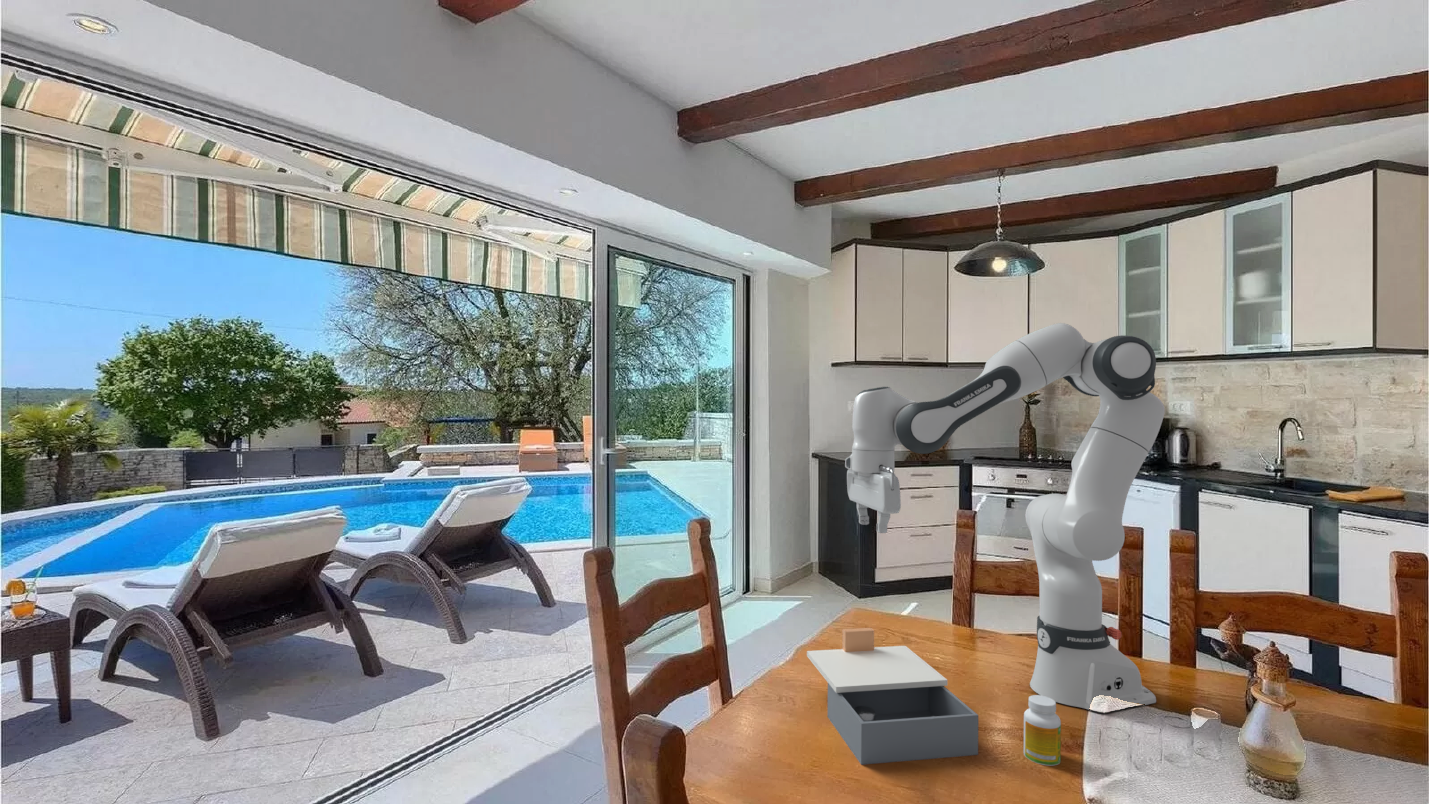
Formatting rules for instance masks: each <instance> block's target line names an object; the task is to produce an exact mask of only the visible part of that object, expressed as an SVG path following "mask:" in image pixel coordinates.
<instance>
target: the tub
mask: <svg viewBox="0 0 1429 804" xmlns="http://www.w3.org/2000/svg"><path fill="white" fill-rule="evenodd" d="M859 706H865V707H869V708H872V709H873V710H874V711H875V721H866V722H863V720H862V719H861V718H860V717H859V715H858V714H857V713H856V712H855V710H854V709H855V708H856V707H859ZM931 716H935V717H931ZM827 718H828V720H829V721H830V723H831V724H832V726H833V727H834V728H835V729H836V731H837V732H838V734H839V735H840V737H841V738H842V740H843V742H845V744H846V745H847V747H848V748H849V749H850V751H851V753H852V754H853V755H854V757H855V758H856V760H857V761H858V763H859V764H860V765H861V766H862V765H863V766H864V765H876V764H885V763H899V762H908V761H912V762H913V761H922V760H932V759H944V758H945V759H946V758H947V759H948V758H957V757H958V758H959V757H969V756H979V714H978V713H977V712H975V711H974V710H973V709H972V708H970V707H969V706H968V705H967V704H966V703H964V702H963V701H962V700H961V699H960V698H958V697H957V695H955V694H954V693H953V692H952V691H950V690H949V688H947V687H946V686H933V687H918V688H903V689H887V690H872V691H857V692H842V693H836V692H835V691H834V690H833V688H832V687H831V686H830V685H829V683H828V682H827Z"/></svg>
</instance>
